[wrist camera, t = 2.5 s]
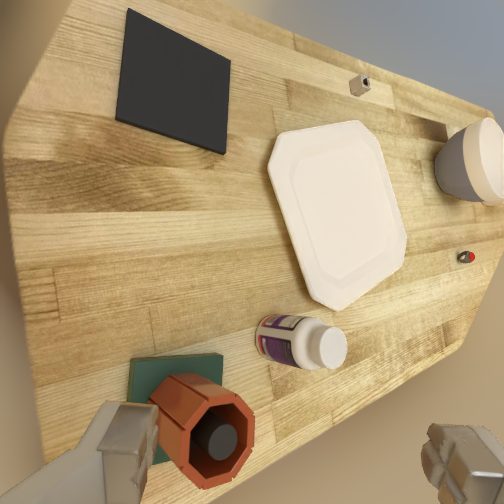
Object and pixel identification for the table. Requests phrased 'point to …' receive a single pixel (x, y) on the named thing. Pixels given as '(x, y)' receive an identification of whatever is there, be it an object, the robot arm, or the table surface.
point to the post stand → (158, 368)
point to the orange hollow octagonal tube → (186, 417)
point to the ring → (467, 257)
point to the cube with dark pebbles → (359, 85)
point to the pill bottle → (301, 342)
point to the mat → (173, 85)
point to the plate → (338, 209)
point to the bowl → (473, 163)
